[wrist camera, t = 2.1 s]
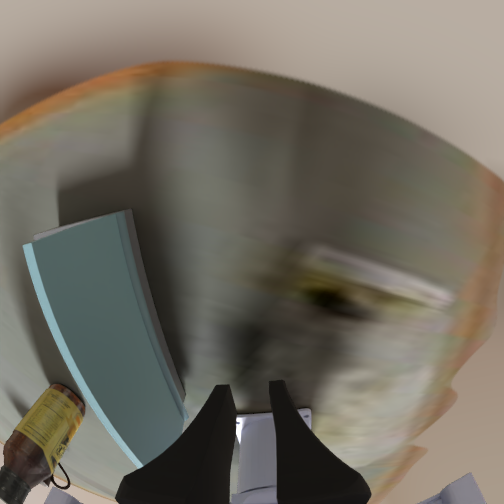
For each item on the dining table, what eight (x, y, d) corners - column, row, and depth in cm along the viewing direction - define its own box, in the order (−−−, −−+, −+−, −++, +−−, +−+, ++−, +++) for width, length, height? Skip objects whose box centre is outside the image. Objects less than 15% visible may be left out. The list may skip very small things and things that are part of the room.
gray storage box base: (185, 394, 23) (178, 420, 20) (116, 390, 24) (104, 411, 20) (131, 208, 19) (108, 215, 15) (56, 227, 19) (31, 235, 16)
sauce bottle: (78, 418, 26) (22, 515, 7) (46, 387, 25) (-22, 478, 6) (96, 409, 25) (34, 525, 6) (60, 374, 24) (-20, 482, 5)
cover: (179, 413, 21) (189, 413, 21) (163, 493, 12) (175, 495, 12) (114, 213, 16) (126, 210, 16) (22, 245, 7) (36, 241, 7)
